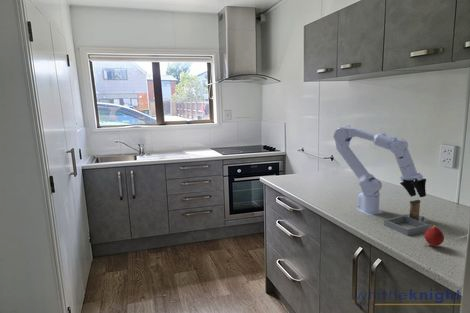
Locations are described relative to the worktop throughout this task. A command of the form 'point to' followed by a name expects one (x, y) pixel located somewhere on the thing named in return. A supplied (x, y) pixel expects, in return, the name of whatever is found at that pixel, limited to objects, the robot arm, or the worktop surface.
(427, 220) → the plate
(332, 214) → the worktop surface
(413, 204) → the brown wooden cylinder
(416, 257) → the worktop surface
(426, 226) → the bin
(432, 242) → the onion
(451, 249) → the worktop surface
